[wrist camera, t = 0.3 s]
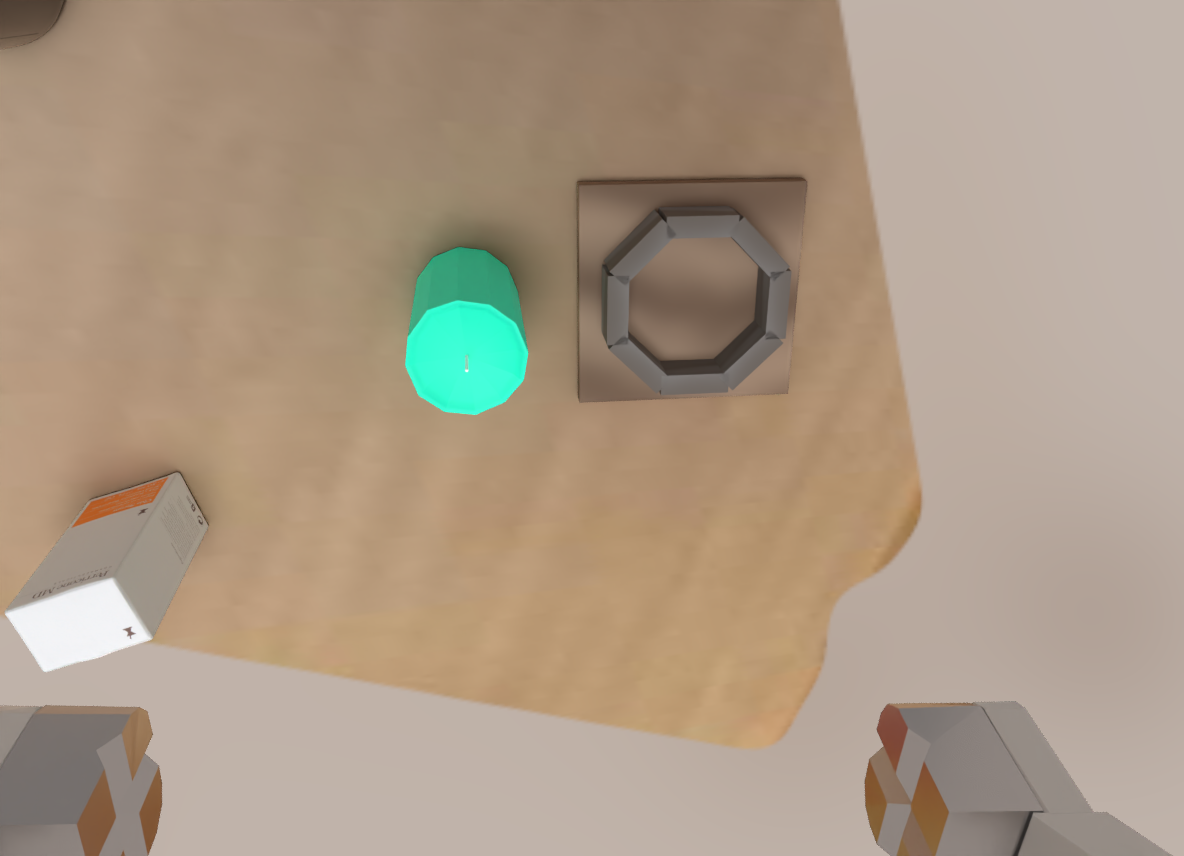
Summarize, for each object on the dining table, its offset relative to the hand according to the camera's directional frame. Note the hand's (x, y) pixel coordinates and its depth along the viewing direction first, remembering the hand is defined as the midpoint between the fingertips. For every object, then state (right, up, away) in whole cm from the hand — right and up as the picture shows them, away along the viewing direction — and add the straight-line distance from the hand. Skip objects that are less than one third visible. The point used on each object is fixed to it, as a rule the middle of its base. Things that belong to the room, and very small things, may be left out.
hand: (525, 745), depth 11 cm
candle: (-7, +11, +46) cm, 48 cm away
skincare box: (-26, -2, +50) cm, 56 cm away
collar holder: (+6, +12, +48) cm, 49 cm away
